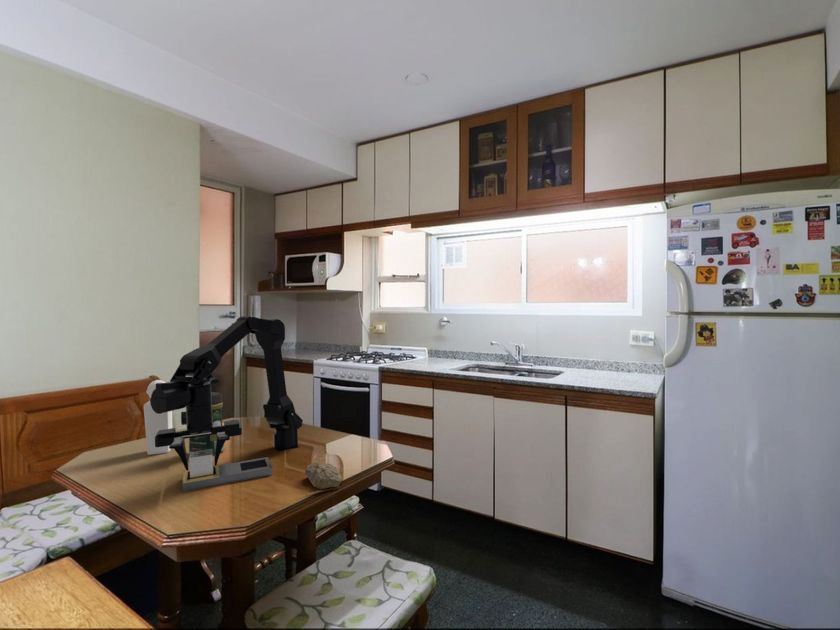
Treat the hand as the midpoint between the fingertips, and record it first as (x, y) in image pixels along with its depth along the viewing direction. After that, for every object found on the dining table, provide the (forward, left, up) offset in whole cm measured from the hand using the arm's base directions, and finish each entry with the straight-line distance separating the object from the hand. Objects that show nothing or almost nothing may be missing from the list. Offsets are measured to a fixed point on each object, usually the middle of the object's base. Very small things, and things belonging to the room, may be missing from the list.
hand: (201, 467), depth 107 cm
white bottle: (+12, -36, -4) cm, 38 cm away
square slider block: (0, 0, -4) cm, 4 cm away
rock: (-27, +15, -4) cm, 31 cm away
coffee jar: (-1, -26, -4) cm, 26 cm away
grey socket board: (-6, 0, -4) cm, 7 cm away
